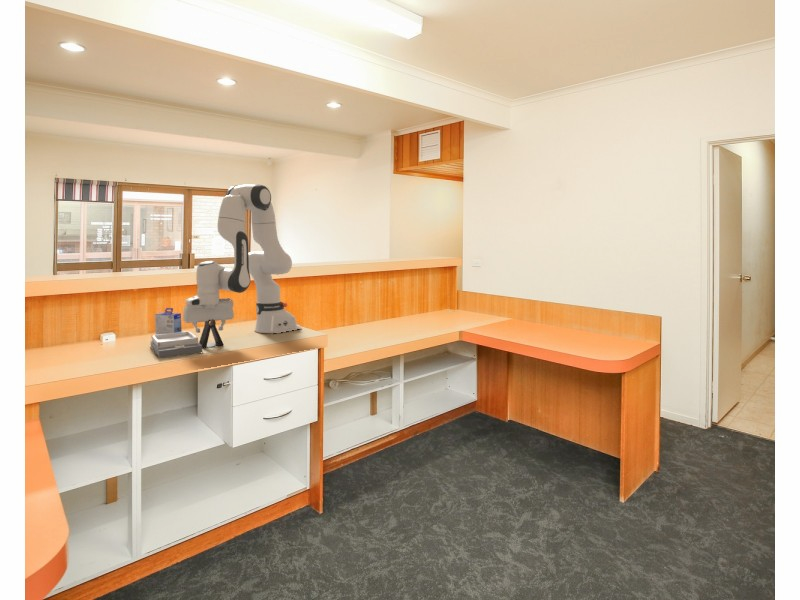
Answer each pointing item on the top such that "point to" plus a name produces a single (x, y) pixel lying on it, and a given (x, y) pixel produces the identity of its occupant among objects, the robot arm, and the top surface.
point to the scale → (175, 344)
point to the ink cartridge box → (168, 322)
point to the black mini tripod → (206, 333)
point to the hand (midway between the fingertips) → (209, 331)
